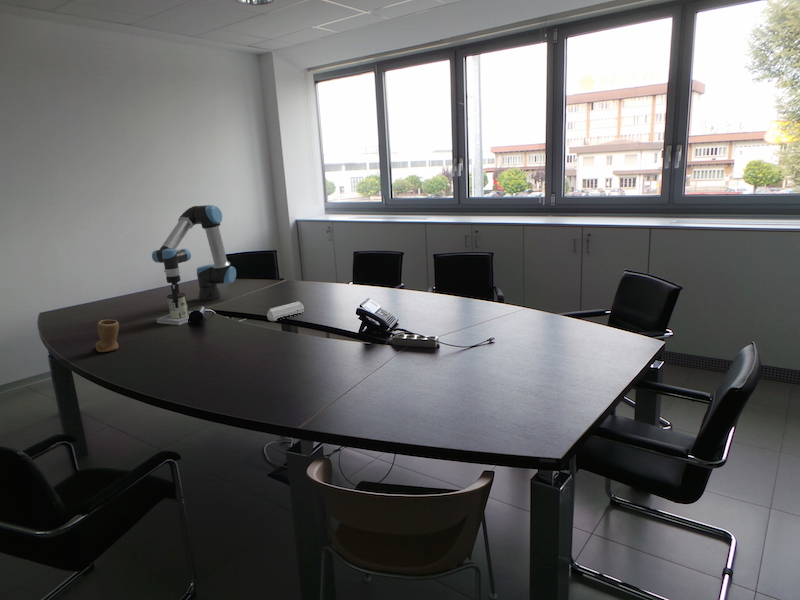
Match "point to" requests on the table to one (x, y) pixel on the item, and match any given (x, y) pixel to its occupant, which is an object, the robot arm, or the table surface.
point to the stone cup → (107, 335)
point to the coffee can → (181, 303)
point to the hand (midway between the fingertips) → (178, 310)
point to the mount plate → (172, 320)
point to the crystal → (284, 311)
